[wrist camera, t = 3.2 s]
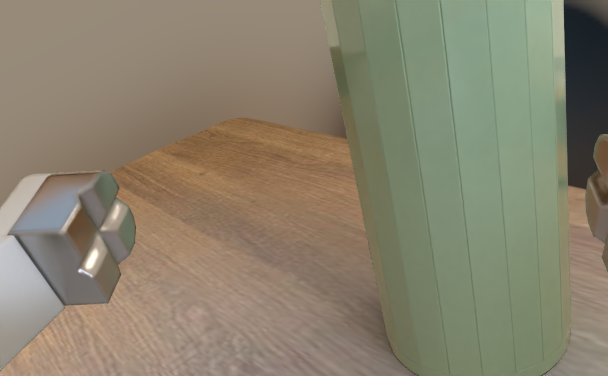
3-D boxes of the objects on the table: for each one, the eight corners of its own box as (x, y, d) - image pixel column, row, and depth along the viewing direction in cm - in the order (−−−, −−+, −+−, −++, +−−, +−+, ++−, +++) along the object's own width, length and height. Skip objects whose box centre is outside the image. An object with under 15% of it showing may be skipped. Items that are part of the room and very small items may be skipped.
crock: (352, 331, 37) (253, -97, 26) (463, 255, 42) (417, -132, 31) (489, 425, 28) (423, -156, 18) (609, 316, 33) (614, -192, 23)
